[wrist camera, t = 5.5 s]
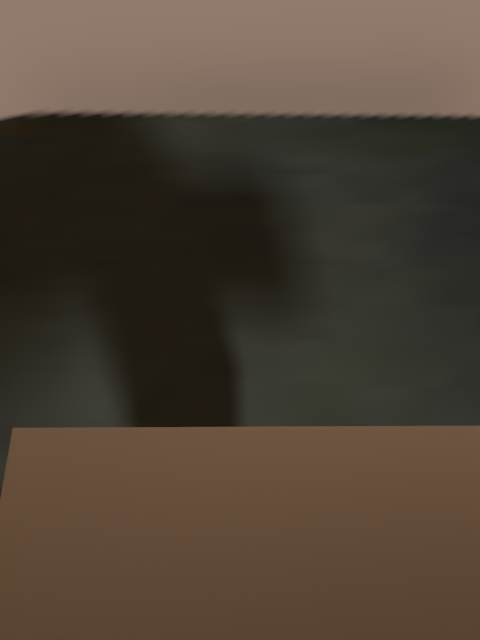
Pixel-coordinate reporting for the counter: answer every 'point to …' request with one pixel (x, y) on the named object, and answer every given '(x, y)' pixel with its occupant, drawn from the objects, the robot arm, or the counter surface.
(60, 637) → the post
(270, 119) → the counter surface
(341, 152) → the counter surface
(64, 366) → the counter surface
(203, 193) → the counter surface
